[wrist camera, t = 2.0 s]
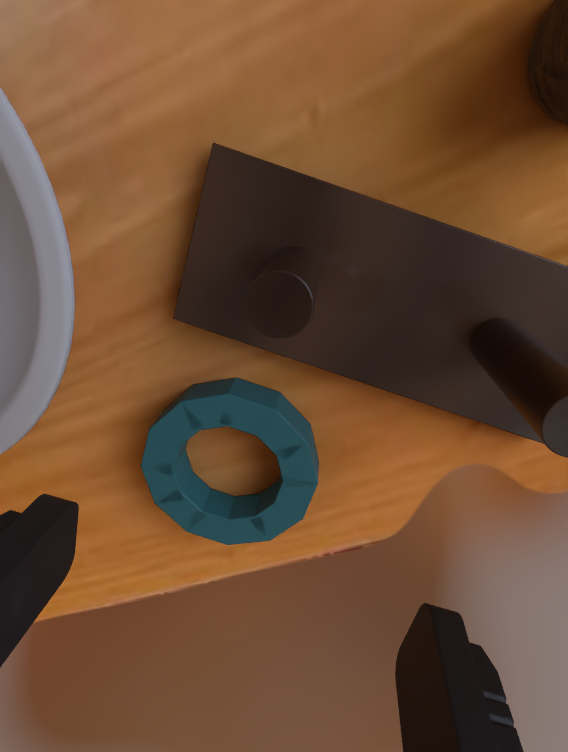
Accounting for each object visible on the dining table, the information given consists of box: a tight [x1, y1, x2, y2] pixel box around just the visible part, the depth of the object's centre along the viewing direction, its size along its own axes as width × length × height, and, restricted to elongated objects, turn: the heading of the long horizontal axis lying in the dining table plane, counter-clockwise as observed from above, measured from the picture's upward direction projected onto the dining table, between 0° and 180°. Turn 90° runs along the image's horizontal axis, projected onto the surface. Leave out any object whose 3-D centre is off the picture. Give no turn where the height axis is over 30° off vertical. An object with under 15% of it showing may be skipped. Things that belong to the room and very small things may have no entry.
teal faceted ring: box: [141, 378, 319, 545], centre depth 29 cm, size 10×10×2 cm
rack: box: [173, 143, 568, 457], centre depth 20 cm, size 22×9×10 cm, turn 72°
